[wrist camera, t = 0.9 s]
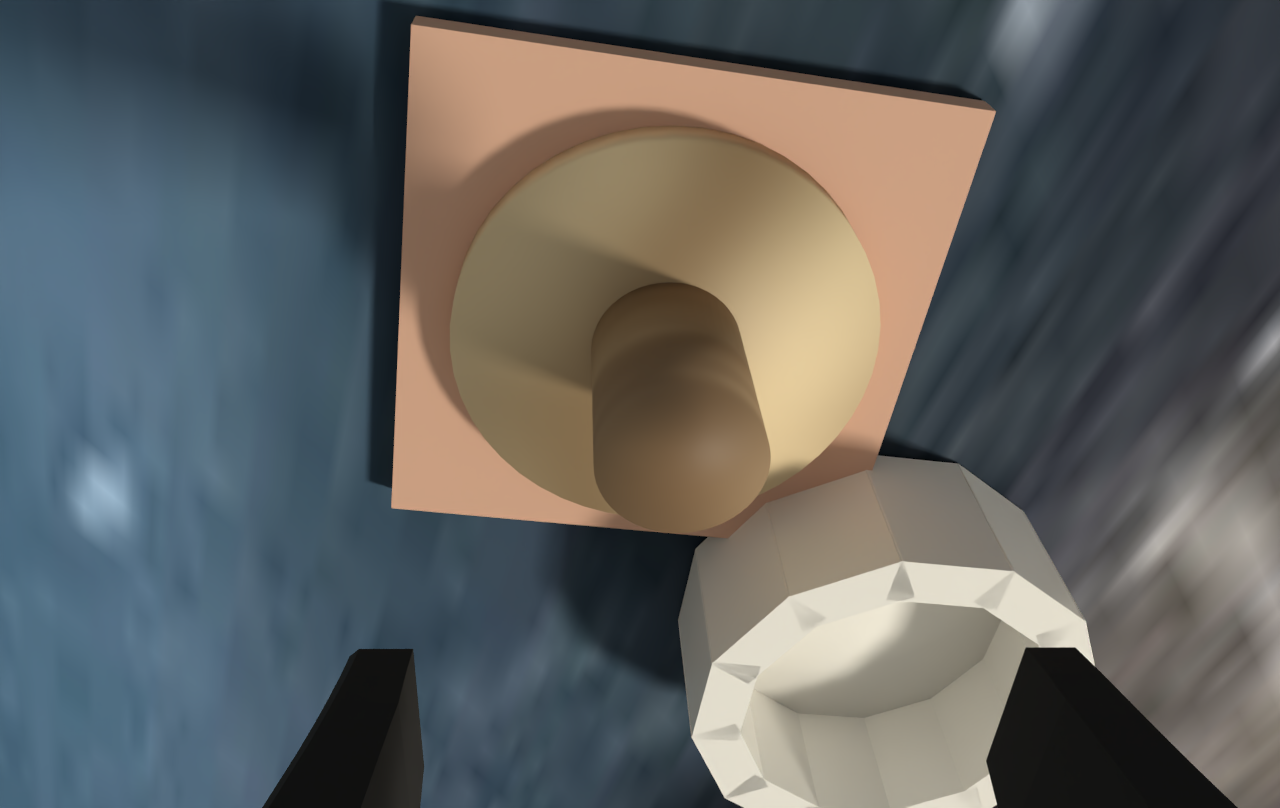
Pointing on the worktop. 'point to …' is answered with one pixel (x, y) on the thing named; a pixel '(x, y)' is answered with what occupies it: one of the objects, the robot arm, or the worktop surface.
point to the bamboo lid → (664, 324)
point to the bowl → (867, 640)
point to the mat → (621, 100)
